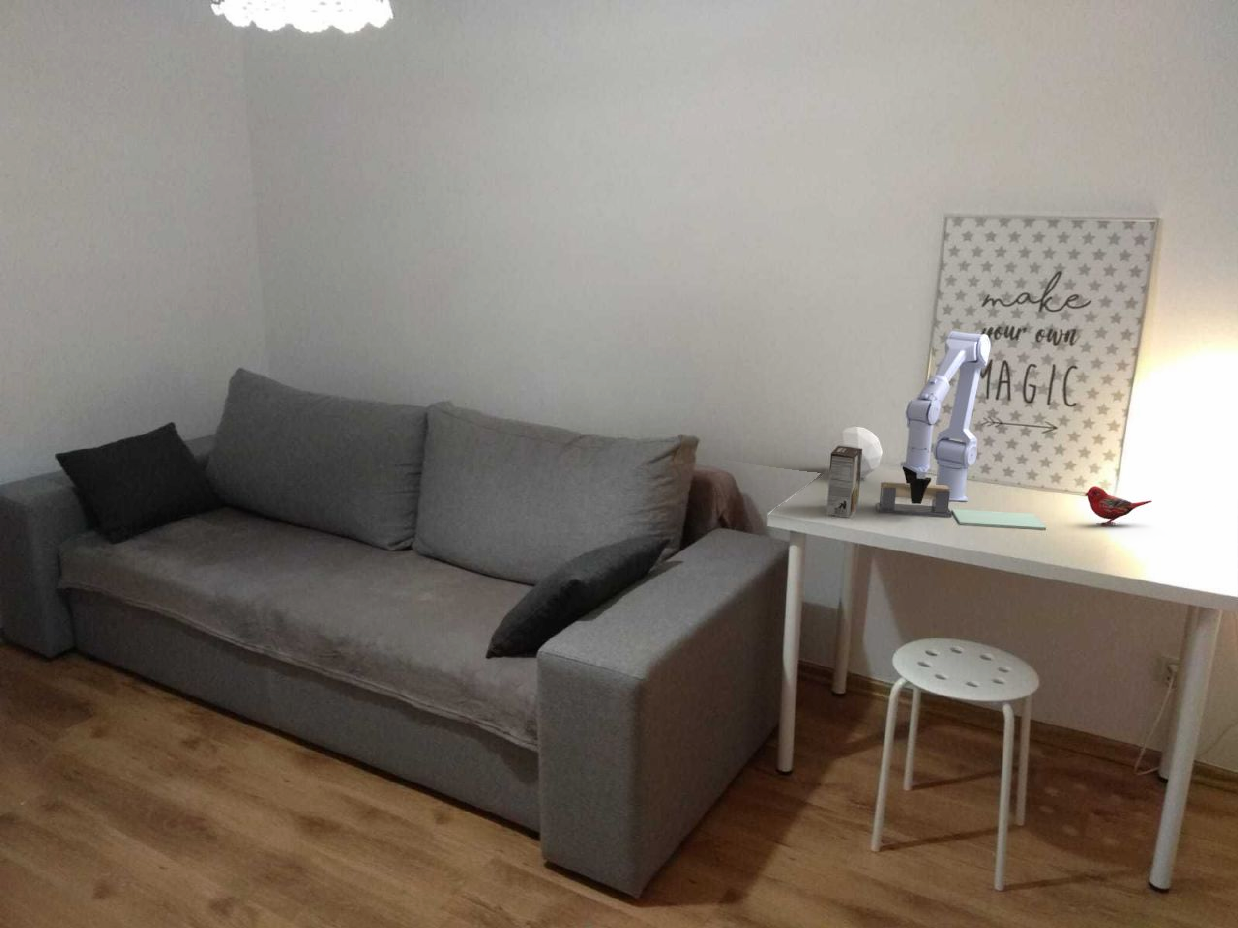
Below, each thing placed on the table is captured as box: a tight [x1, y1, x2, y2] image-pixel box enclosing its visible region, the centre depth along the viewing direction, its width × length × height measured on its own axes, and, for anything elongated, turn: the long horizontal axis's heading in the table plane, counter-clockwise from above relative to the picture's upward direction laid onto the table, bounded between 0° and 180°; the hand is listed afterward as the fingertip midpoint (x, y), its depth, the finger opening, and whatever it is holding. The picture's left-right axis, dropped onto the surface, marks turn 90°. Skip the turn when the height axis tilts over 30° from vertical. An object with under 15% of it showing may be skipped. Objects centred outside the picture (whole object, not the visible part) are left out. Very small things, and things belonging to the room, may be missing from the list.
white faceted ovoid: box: [828, 426, 884, 479], centre depth 272 cm, size 14×15×20 cm
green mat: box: [951, 508, 1047, 531], centre depth 235 cm, size 11×20×1 cm, turn 81°
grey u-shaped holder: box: [874, 482, 953, 518], centre depth 240 cm, size 6×18×6 cm, turn 81°
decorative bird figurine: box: [1084, 486, 1153, 526], centre depth 232 cm, size 3×18×10 cm, turn 95°
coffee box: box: [825, 446, 862, 519], centre depth 238 cm, size 9×6×16 cm
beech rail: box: [880, 481, 949, 500], centre depth 239 cm, size 3×16×3 cm, turn 81°
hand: (913, 498), depth 240 cm, fingers open, 7 cm apart
